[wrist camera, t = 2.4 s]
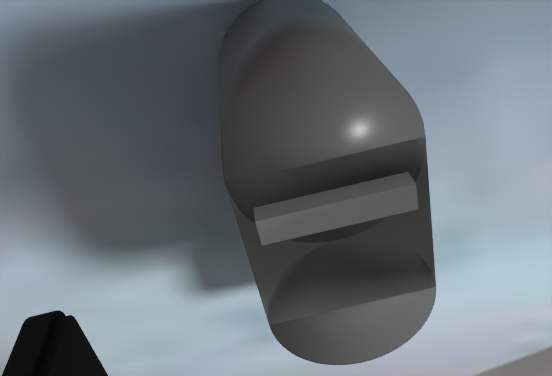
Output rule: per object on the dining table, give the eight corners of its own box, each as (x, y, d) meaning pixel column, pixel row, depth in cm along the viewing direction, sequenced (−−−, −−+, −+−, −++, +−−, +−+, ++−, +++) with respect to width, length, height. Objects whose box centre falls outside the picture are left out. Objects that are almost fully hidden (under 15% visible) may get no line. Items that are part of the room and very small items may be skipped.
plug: (203, 12, 14) (195, 99, 9) (345, -23, 14) (428, 43, 9) (278, 281, 20) (303, 443, 14) (383, 257, 19) (450, 410, 14)
